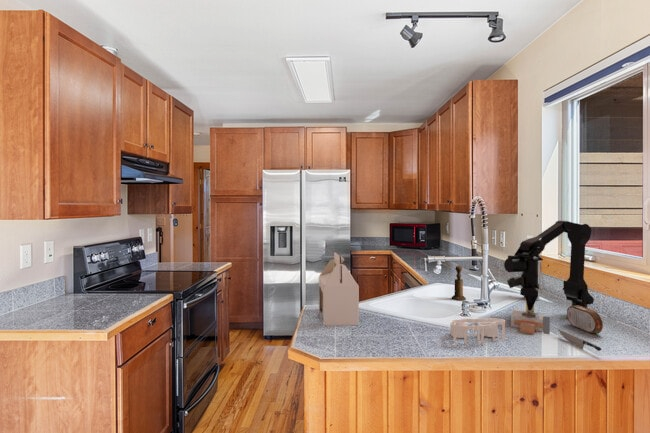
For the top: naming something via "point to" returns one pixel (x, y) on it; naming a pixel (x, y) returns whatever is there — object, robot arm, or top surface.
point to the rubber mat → (546, 325)
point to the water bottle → (539, 277)
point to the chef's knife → (577, 340)
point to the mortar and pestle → (458, 286)
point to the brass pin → (529, 310)
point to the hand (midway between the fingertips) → (530, 309)
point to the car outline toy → (477, 328)
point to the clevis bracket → (527, 321)
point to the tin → (584, 319)
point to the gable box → (338, 294)
